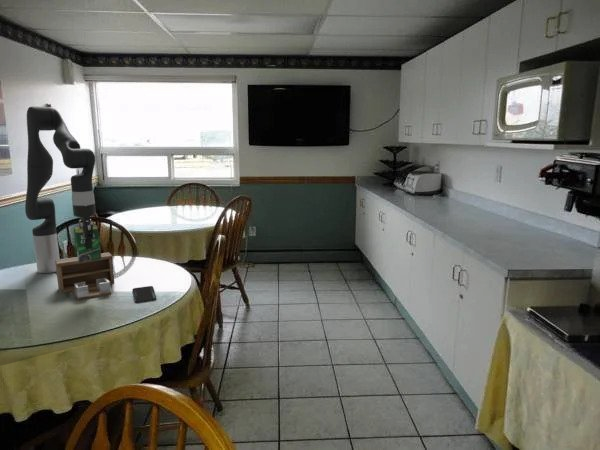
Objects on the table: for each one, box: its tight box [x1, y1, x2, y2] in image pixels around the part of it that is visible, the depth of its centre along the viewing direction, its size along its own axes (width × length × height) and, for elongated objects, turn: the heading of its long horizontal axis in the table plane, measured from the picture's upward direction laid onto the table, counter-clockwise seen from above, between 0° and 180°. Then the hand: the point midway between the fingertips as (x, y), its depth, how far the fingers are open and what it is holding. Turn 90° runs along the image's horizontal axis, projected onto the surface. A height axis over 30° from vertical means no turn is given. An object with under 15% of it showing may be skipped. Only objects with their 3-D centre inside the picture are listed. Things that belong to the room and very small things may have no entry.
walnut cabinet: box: [55, 251, 115, 301], centre depth 172 cm, size 18×20×12 cm
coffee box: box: [73, 224, 101, 262], centre depth 164 cm, size 8×3×13 cm, turn 126°
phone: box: [132, 285, 157, 304], centre depth 168 cm, size 8×1×15 cm
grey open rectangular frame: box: [74, 278, 112, 298], centre depth 168 cm, size 6×12×4 cm, turn 126°
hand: (88, 247), depth 165 cm, fingers closed on coffee box, 3 cm apart
